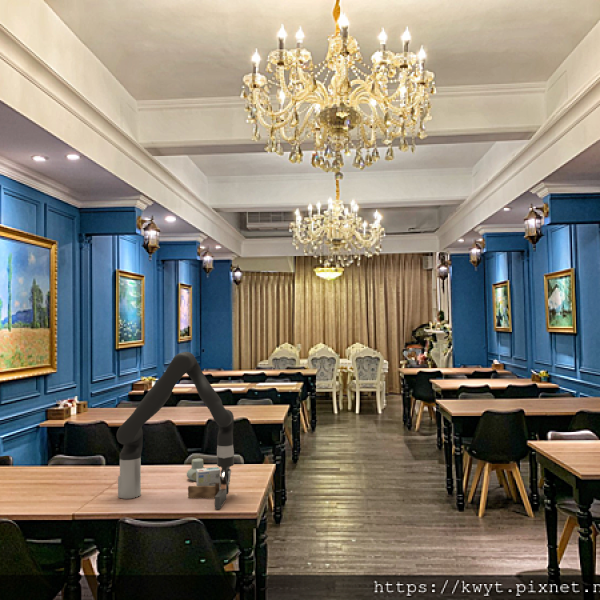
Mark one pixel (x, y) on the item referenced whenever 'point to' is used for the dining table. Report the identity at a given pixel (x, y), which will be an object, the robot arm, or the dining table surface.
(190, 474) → the air freshener
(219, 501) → the bar
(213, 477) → the light bulb box
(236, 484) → the dining table surface
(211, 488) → the rails
